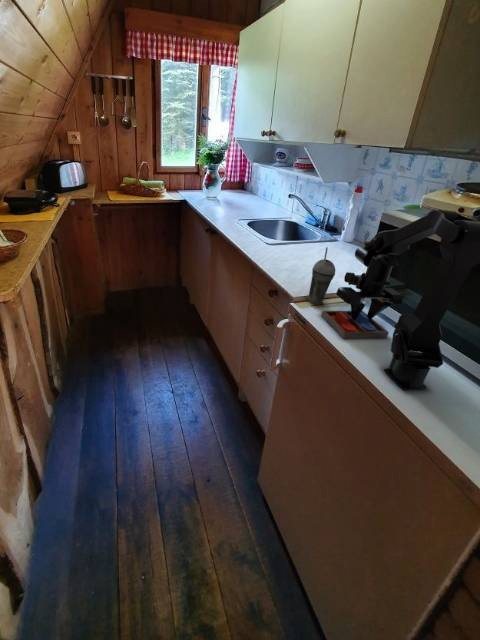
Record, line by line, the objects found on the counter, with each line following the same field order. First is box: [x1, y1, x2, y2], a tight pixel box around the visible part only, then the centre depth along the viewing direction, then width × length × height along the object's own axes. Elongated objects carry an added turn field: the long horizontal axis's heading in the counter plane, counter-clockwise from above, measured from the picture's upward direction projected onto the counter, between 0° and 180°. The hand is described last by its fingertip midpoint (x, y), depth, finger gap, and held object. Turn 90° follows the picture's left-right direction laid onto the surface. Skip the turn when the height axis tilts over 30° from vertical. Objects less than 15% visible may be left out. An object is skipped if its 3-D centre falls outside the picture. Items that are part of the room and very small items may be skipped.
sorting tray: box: [320, 310, 390, 340], centre depth 94 cm, size 12×15×2 cm
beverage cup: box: [308, 246, 336, 305], centre depth 103 cm, size 7×7×20 cm
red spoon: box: [335, 310, 356, 332], centre depth 92 cm, size 8×4×3 cm, turn 10°
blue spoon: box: [356, 312, 376, 331], centre depth 94 cm, size 8×4×3 cm, turn 10°
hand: (360, 319), depth 95 cm, fingers open, 5 cm apart
